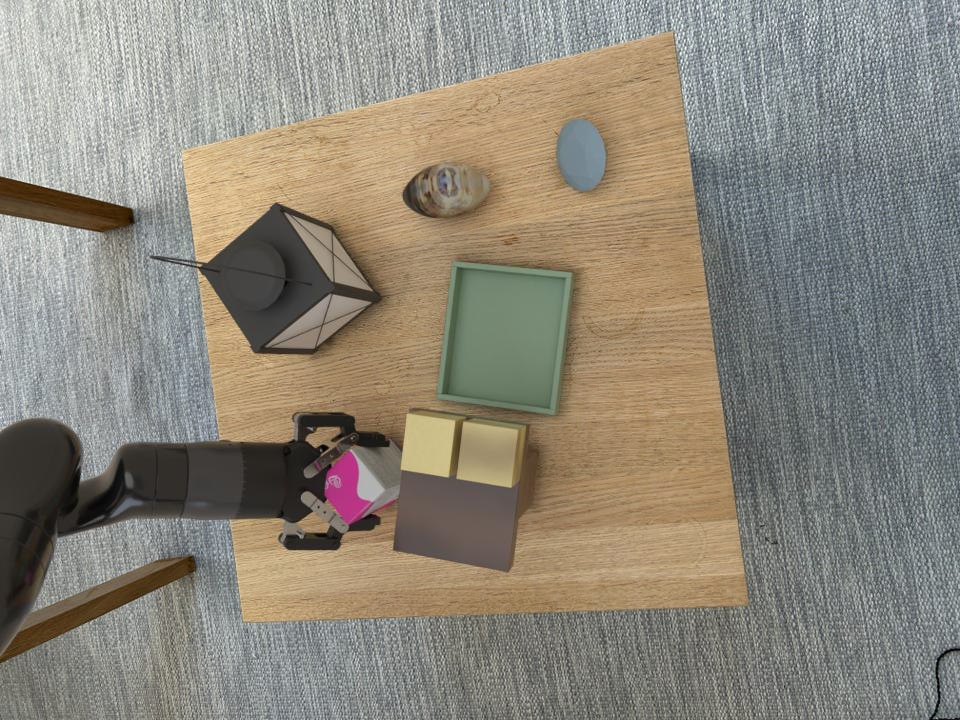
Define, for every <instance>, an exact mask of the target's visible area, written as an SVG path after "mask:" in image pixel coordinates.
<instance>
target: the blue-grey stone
mask: <svg viewBox="0 0 960 720" xmlns="http://www.w3.org/2000/svg"><path fill="white" fill-rule="evenodd" d="M555 151H556V152H555V154H556V161H557V166H558V169H559V171H560V173H561V175H562V178H563V180H564V181H565V182H566V183H567V184H568V185H569V187H571V188H572V189H574V190H576V191H579V192H580V193H582V192H584V193H585V192H589V191H593V190H594V188H596V187H597V186H598V185H599V184H600V183H601V180H602V178H603V177H604V174H605V172H606V164H607V156H608V149H607V146H606V144H605V142H604V139H603V138H602V136H601V132H599V130H598V128H597V127H596V126H595V125H594V124H593V123H592V122H591V121H590V120H587V119H584V118H581V117H577V118H572V119H569V120H568V121H567V122H566V123H565V124H564V125H563V126H562V127H561V129H560V132H559V134H558V137H557V139H556V150H555Z"/></svg>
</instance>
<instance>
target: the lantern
mask: <svg viewBox="0 0 960 720" xmlns="http://www.w3.org/2000/svg"><path fill="white" fill-rule="evenodd" d="M335 231H336V230H335V229H334V227H333V226H332V224H329V223H327V222H325V221H323V220H320V219H318V218H315V217H312V216H311V215H308V214H305V213H303V212H300V211H298V210H296V209H293V208H291V207H288V206H286V205H284V204H282V203H279V202H274V203H273V204H272V205H271V206H269V210H267V211H266V212H264V214H262V215H261V216H260V217H259V218H258V219H256V220H255V221H254V222H253V223H252V224H251V225H250V226H248V227H247V228H246V229H245V230H244V231H243V232H241V233H240V234H239V235H238V236H237V237H235V238H234V240H232V241H231V242H230V243H229V244H227V245H226V246H225V247H224V248H222V249H221V250H220V251H219V252H218V253H217V254H215V255H214V256H213V257H212V258H211V259H210V260H208V262H203V261H197V260H191V259H186V258H183V259H182V258H178V257H169V256H162V255H149V258H150V259H152V260H156V261H160V262H165V263H170V264H174V265H179V266H185V267H190V268H195V269H198V271H199V273H200V274H201V275H202V276H203V277H205V279H206V280H207V282H208V283H209V285H210V286H211V288H212V289H213V291H214V292H215V293H216V295H217V297H218V298H219V300H220V301H221V303H222V305H223V306H224V307H225V309H226V310H227V312H228V313H229V315H230V316H231V318H232V320H233V321H234V322H235V324H236V325H237V327H238V328H239V330H240V331H241V333H242V334H243V336H244V337H245V339H246V340H247V342H248V344H249V345H250V346H249V348H250V350H251V351H252V353H253V354H255V355H295V356H296V355H297V356H299V355H300V356H301V355H302V356H312V355H314V354H315V353H317V352H318V351H319V350H318V349H319V348H321V347H322V346H323V345H324V344H325V343H327V342H328V341H329V340H331V339H332V338H333V337H335V335H337V334H338V333H339V332H340V331H342V330H343V329H345V328H346V327H347V326H348V325H349V324H351V323H352V322H353V321H354V320H356V319H357V318H358V317H359V316H361V315H362V314H363V313H364V312H366V311H367V310H368V309H370V308H371V307H372V306H373V305H374V304H378V303H380V302H381V301H382V300H383V296H381V294H380V293H379V292H377V290H375V288H374V286H373V285H372V283H371V282H370V281H369V280H368V278H367V276H365V274H364V273H363V270H361V268H360V267H359V265H358V264H357V262H356V261H355V260H354V258H353V256H352V255H351V253H350V252H349V251H348V250H347V249H346V247H345V246H344V244H343V242H342V241H341V240H340V239H339V236H338V235H337V234H336V233H335ZM194 264H196V265H194ZM199 265H200V266H199Z"/></svg>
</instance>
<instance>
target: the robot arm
mask: <svg viewBox="0 0 960 720" xmlns="http://www.w3.org/2000/svg"><path fill="white" fill-rule="evenodd" d="M291 420H292V423H294V433H293V439H291V440H289V441H286V442H264V441H235V440H234V441H232V440H230V439H219V440H201V441H191V442H171V441H170V442H166V441H129V442H125V443H123V444H121V445H120V446H119V447H117V449H116V451H115V452H114V454H113V456H112V458H111V459H110V462H109V464H108V466H107V467H106V469H105V470H104V471H103V472H102V473H101V474H98V475H97V476H93V477H90V478H86V479H84V480H81V477H82V471H83V465H84V457H85V456H84V454H85V453H84V446H83V443H82V441H81V440H82V439H81V438H80V436H79V435H78V433H77V432H76V431H75V430H74V429H73V428H72V427H71V426H69V425H68V424H66V423H65V422H62V421H61V420H58V419H55V418H51V417H41V416H38V417H35V416H34V417H28V418H24V419H21V420H18V421H15V422H13V423H11V424H8V425H7V426H6V427H4V428H2V429H1V430H0V658H1V657H2V655H3V654H4V653H5V651H6V650H7V649H8V647H9V646H10V644H11V643H12V642H13V640H14V639H15V637H16V636H17V634H18V633H19V631H20V630H21V629H22V627H23V626H24V625H25V623H26V621H27V619H28V618H29V616H30V614H31V613H32V610H33V608H34V607H35V605H36V602H37V600H38V598H39V595H40V593H41V591H42V589H43V585H44V582H45V580H46V577H47V575H48V572H49V569H50V566H51V564H52V561H53V558H54V555H55V552H56V547H57V542H58V539H62V538H66V537H70V536H73V535H78V534H80V533H85V532H89V531H92V530H95V529H100V528H103V527H108V526H111V525H116V524H118V523H122V522H126V521H131V520H157V519H159V520H161V519H163V520H164V519H188V520H195V521H232V520H235V521H236V520H274V519H275V520H277V519H278V520H279V519H280V520H283V521H284V524H283V530H282V532H281V533H279V534H278V537H277V540H278V543H280V544H281V545H282V546H283V548H285V549H286V550H287V551H338V550H339V549H340V548H341V546H342V539H343V536H344V535H345V534H347V533H349V532H370V531H371V532H372V531H374V530H375V529H376V526H381V523H382V517H381V516H379V515H377V514H376V513H372V514H370V515H368V516H366V517H364V518H362V519H360V520H357V521H355V522H353V523H351V524H349V525H347V524H346V522H345V521H344V520H343V518H342V517H341V516H340V515H339V514H337V512H335V511H334V510H333V509H332V508H330V506H327V505H326V504H325V503H326V502H327V501H328V499H327V498H326V497H325V484H326V476H327V472H328V470H329V469H330V468H331V467H332V466H333V465H332V463H333V462H335V461H336V460H337V459H338V460H339V459H340V458H341V457H343V456H344V453H345V452H346V451H347V450H350V449H351V448H352V447H353V446H356V447H390V440H388V439H389V438H386V436H387V435H386V434H383V433H381V432H379V431H376V430H375V431H373V430H357V429H356V425H355V424H356V418H355V416H353V415H351V414H347V413H346V412H343V411H296V412H294V413H293V414H292V416H291ZM318 428H339V431H338V433H336V434H334V435H333V436H331V437H329V438H327V439H324V440H323V441H321V442H320V443H318V444H317V445H315V446H314V445H313V444H311V443H310V442H309V441H307V437H308V436H309V435H313V434H315V433H316V432H317V431H318ZM312 513H315V515H317V516H318V517H320V518H321V519H322V520H323V521H325V522H326V523H327V524H328V525H329V526H328V529H327V531H326V532H315V531H313V532H312V531H305V529H303V528H302V527H301V526H298V525H297V523H299V522H302V520H304V519H305V518H307V517H308V516H310V515H311V514H312Z"/></svg>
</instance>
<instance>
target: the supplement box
mask: <svg viewBox="0 0 960 720" xmlns="http://www.w3.org/2000/svg"><path fill="white" fill-rule="evenodd" d="M387 439H388V440H390V447H359V446H356V447H353V448H349V449H348V451H347V452H346V453H345V454H343V455H342V456H341V457H340V458H339V459H338V460H337V461H336V462H335V463H334V464H333V465H332V467H331V468H330V469H329V470H328V472H327V476H326V484H325V497H326V498H327V501H328V502H329V503H330V504H331V506H332V507H333V508H334V510H335V511H336V513H338V516H340V517H342V518H343V520H344V521H345V522H346V524H347V525H349V524H351V523H353V522H355V521H357V520H360V519H362V518H364V517H366V516H368V515H370V514H375V513H376V512H379V511H381V510H383V509H385V508H387V507H389V506H391V505H392V504H393V503H394V502H395V501H397V500H399V492H400V484H401V475H402V470H401V461H402V452H403V449H402V448H401V447H400V446H399V445H398V444H397V442H396V441H395V440H394V439H393V438H387Z"/></svg>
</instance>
